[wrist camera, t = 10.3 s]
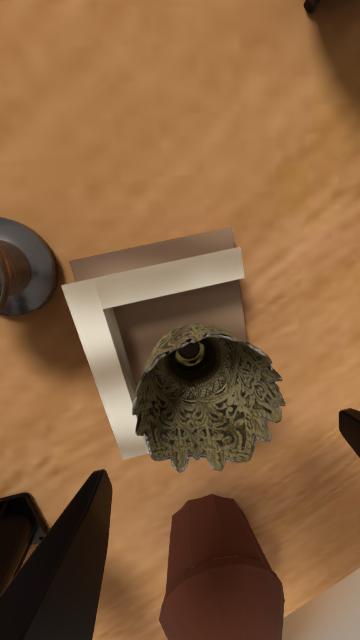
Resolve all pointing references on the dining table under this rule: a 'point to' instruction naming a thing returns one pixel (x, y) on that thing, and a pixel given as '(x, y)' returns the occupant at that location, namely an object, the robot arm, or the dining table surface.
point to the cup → (206, 398)
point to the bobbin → (24, 269)
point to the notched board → (150, 312)
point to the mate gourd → (310, 5)
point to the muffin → (219, 577)
